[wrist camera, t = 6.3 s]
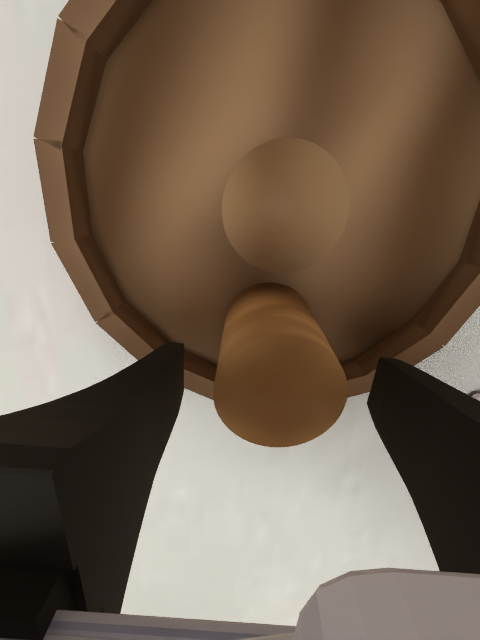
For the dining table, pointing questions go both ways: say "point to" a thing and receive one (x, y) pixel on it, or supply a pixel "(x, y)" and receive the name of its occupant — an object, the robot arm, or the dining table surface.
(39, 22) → the dining table surface
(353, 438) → the dining table surface
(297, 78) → the ring tray
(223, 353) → the brown wooden cylinder
